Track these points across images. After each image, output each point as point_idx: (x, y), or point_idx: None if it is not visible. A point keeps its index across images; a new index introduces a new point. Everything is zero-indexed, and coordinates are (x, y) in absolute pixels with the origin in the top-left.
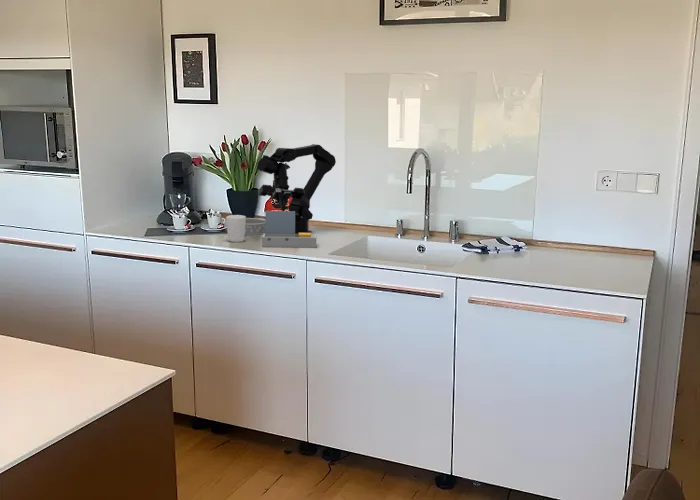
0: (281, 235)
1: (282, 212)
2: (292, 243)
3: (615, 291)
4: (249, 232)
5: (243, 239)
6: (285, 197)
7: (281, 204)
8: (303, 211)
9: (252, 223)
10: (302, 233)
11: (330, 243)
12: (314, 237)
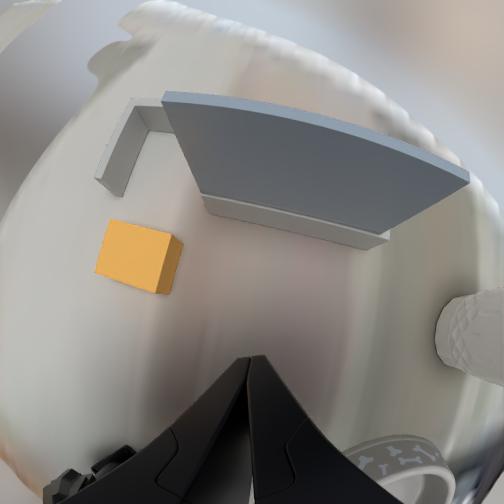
0: None
1: (305, 117)
2: None
3: (15, 5)
4: (399, 444)
5: (444, 313)
6: (180, 493)
7: (290, 392)
8: (69, 496)
9: None
10: (141, 261)
11: (64, 201)
12: (135, 104)
